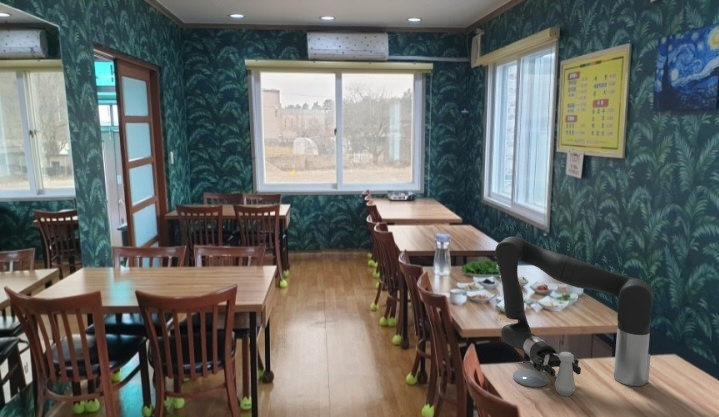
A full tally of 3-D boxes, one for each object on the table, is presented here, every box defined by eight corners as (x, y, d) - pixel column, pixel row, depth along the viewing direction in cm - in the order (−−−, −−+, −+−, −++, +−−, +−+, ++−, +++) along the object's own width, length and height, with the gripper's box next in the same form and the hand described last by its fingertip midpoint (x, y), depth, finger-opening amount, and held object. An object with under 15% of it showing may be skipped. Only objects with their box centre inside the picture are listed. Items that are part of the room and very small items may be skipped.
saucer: (536, 370, 171) (537, 368, 171) (554, 386, 160) (555, 383, 160) (506, 373, 169) (507, 370, 169) (523, 389, 158) (523, 386, 158)
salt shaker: (576, 398, 152) (578, 358, 151) (556, 396, 154) (558, 356, 152) (572, 389, 158) (574, 350, 156) (553, 387, 159) (555, 348, 157)
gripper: (520, 342, 168) (546, 362, 152) (559, 339, 171) (588, 359, 155) (519, 363, 169) (545, 386, 153) (557, 359, 172) (587, 382, 156)
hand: (566, 372), depth 154 cm, fingers open, 8 cm apart
